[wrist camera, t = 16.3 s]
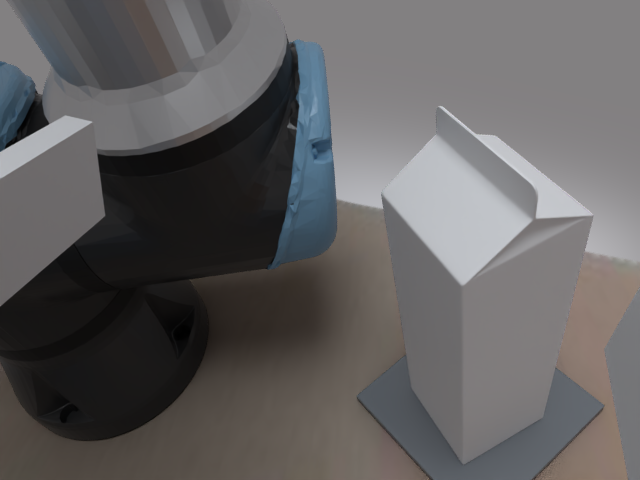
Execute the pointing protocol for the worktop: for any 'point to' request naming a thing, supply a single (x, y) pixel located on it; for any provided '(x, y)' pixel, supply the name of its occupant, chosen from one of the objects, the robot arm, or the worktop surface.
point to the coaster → (500, 461)
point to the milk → (481, 282)
